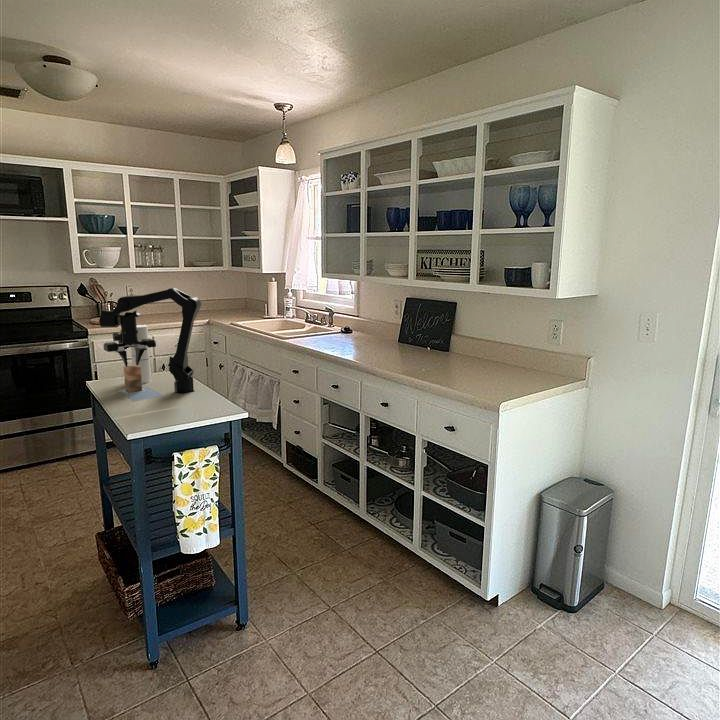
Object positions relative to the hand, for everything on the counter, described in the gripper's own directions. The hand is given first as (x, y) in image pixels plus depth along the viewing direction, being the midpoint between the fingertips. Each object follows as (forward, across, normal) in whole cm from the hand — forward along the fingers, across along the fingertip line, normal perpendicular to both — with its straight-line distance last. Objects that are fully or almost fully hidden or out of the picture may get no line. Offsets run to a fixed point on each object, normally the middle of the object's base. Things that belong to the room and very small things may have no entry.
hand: (131, 365), depth 212 cm
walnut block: (+10, 0, 0) cm, 10 cm away
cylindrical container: (+11, -8, -13) cm, 19 cm away
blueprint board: (+11, -1, +6) cm, 12 cm away
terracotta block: (+5, 0, 0) cm, 5 cm away
